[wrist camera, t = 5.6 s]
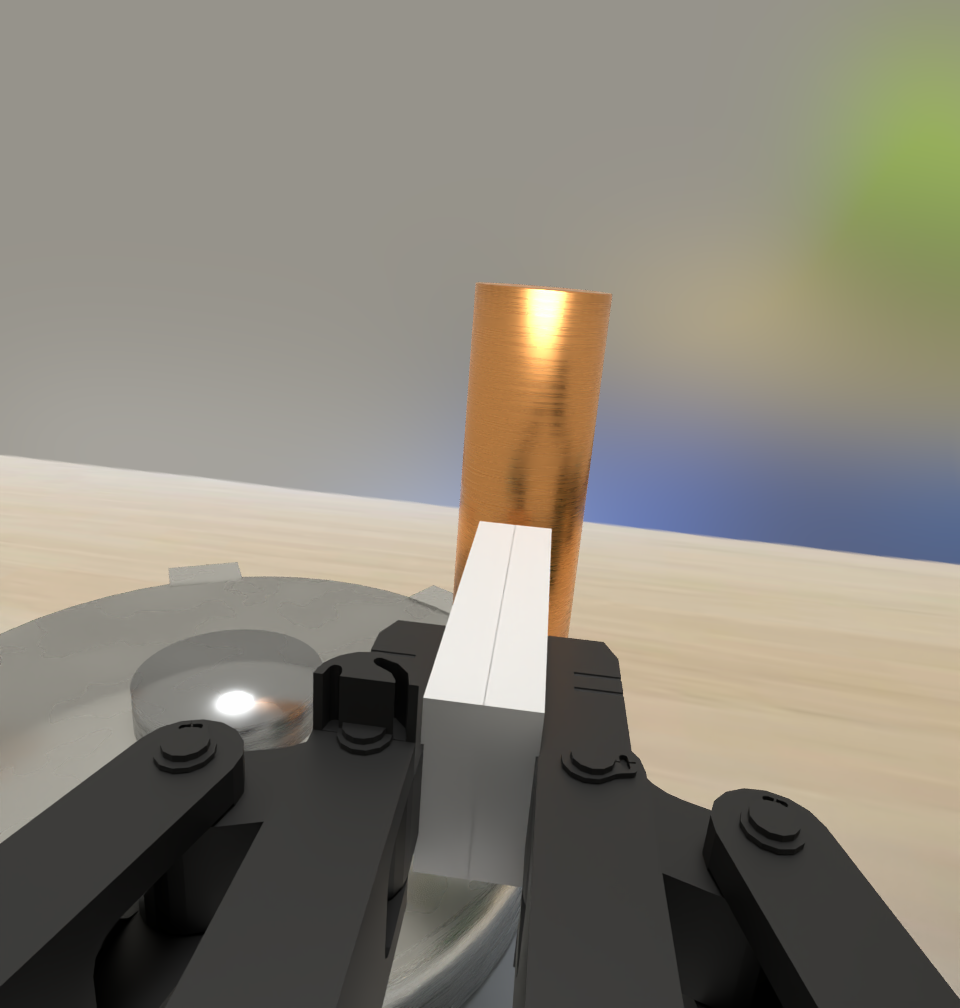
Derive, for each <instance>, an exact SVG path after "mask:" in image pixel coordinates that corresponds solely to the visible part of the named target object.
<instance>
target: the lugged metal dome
mask: <svg viewBox="0 0 960 1008" xmlns="http://www.w3.org/2000/svg"><path fill="white" fill-rule="evenodd" d="M611 300H612V294H610V293H604V292H596V291H587V290H578V289H568V288H557V287H556V288H555V287H544V286H533V285H518V284H504V283H483V282H481V283H479V282H478V283H476V287H475V301H474V315H473V329H472V342H471V356H470V370H469V384H468V398H467V412H466V425H465V440H464V453H463V467H462V482H461V495H460V508H459V522H458V536H457V550H456V564H455V578H454V592H453V593H451V592H449V591H446V590H444V589H441V588H439V587H436V586H434V585H433V586H431V587H429V588H427V589H425V590H423V591H421V592H418V593H416V594H414V595H412V596H410V597H407V596H403V595H400V594H396V593H393V592H389V591H386V590H381V589H377V588H372V587H367V586H363V585H358V584H351V583H344V582H338V581H331V580H321V579H310V578H296V577H242V576H241V572H240V569H239V566H238V562H235V563H223V564H212V565H201V566H189V567H178V568H169V583H170V584H168V585H162V586H156V587H150V588H145V589H139V590H135V591H130V592H126V593H122V594H117V595H113V596H108V597H104V598H101V599H97V600H94V601H90V602H87V603H83V604H80V605H76V606H73V607H70V608H67V609H64V610H61V611H58V612H55V613H52V614H49V615H46V616H44V617H41V618H38V619H35V620H33V621H30V622H28V623H25V624H23V625H21V626H18V627H16V628H13V629H11V630H9V631H6V632H4V633H1V634H0V843H2V842H3V841H4V840H6V839H7V838H8V837H10V836H11V835H12V834H14V833H15V832H16V831H18V830H19V829H20V828H22V827H23V826H24V825H26V824H27V823H28V822H30V821H31V820H32V819H34V818H35V817H36V816H38V815H39V814H40V813H42V812H43V811H44V810H46V809H47V808H48V807H50V806H51V805H52V804H54V803H55V802H56V801H58V800H59V799H60V798H62V797H63V796H64V795H66V794H67V793H68V792H70V791H71V790H72V789H74V788H75V787H76V786H78V785H79V784H80V783H82V782H83V781H84V780H86V779H87V778H88V777H90V776H91V775H92V774H94V773H95V772H96V771H98V770H99V769H100V768H102V767H103V766H104V765H106V764H107V763H108V762H110V761H111V760H112V759H114V758H115V757H116V756H118V755H119V754H120V753H122V752H123V751H124V750H126V749H127V748H128V747H130V746H131V745H132V744H134V743H135V742H136V741H138V740H139V739H140V738H142V737H144V736H145V735H147V734H149V733H151V732H153V731H154V730H156V729H158V728H160V727H163V726H166V725H170V724H173V723H176V722H180V721H188V720H200V719H205V720H211V721H217V722H223V723H225V724H227V725H228V726H230V727H232V728H234V729H236V730H237V731H238V733H239V734H240V736H241V737H242V739H243V740H244V751H254V750H266V749H277V748H283V747H289V746H294V745H297V744H300V743H303V742H307V740H308V738H309V736H310V734H311V732H312V730H313V672H314V671H315V670H316V669H317V668H318V667H319V666H320V665H321V664H322V663H323V662H326V661H328V660H330V659H332V658H335V657H337V656H339V655H344V654H349V653H354V652H371V648H372V646H373V644H374V642H375V640H376V638H377V636H378V634H379V633H380V632H381V631H383V630H384V629H386V628H387V627H389V626H390V625H391V624H393V623H394V622H396V621H397V620H403V621H411V622H420V623H428V624H436V625H445V626H446V625H447V622H448V619H449V616H450V612H451V609H452V606H453V603H454V600H455V597H456V594H457V591H458V587H459V584H460V581H461V578H462V575H463V572H464V569H465V566H466V563H467V559H468V556H469V553H470V550H471V547H472V544H473V541H474V538H475V534H476V531H477V528H478V525H479V522H480V521H483V522H493V523H502V524H511V525H520V526H530V527H539V528H548V529H552V533H551V559H550V585H549V611H548V636H556V637H564V638H568V632H569V624H570V617H571V609H572V601H573V594H574V586H575V578H576V570H577V563H578V555H579V547H580V540H581V532H582V524H583V516H584V508H585V501H586V493H587V484H588V478H589V470H590V462H591V455H592V447H593V439H594V431H595V423H596V415H597V408H598V400H599V393H600V385H601V378H602V370H603V361H604V354H605V346H606V339H607V331H608V324H609V316H610V308H611ZM413 862H414V854H413V858H412V862H411V866H410V870H409V874H408V887H407V905H406V909H405V914H404V918H403V922H402V926H401V930H400V935H399V939H398V943H397V947H396V951H395V955H394V960H393V964H392V968H391V972H390V976H389V981H388V985H387V989H386V993H385V997H384V1001H383V1006H382V1008H459V1007H460V1006H461V1005H462V1004H463V1003H464V1002H465V1001H466V1000H467V999H468V998H469V997H470V995H471V994H472V993H473V992H474V991H475V990H476V989H477V988H478V987H479V986H480V985H481V984H482V983H483V981H484V980H485V978H486V977H487V975H488V974H489V973H490V971H491V970H492V968H493V967H494V965H495V964H496V963H497V961H498V960H499V958H500V957H501V955H502V954H503V953H504V951H505V950H506V948H507V947H508V945H509V943H510V941H511V939H512V937H513V935H514V933H515V931H516V929H517V927H518V921H519V912H520V904H521V896H522V887H515V886H508V885H501V884H494V883H488V882H481V881H474V880H467V879H460V878H453V877H446V876H440V875H433V874H426V873H419V872H413Z"/></svg>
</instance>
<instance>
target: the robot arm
mask: <svg viewBox="0 0 960 1008" xmlns="http://www.w3.org/2000/svg"><path fill="white" fill-rule="evenodd" d="M551 533H552V529H548V528H539V527H530V526H520V525H511V524H502V523H493V522H483V521H480V522H479V525H478V528H477V531H476V534H475V538H474V541H473V544H472V547H471V550H470V553H469V556H468V559H467V563H466V566H465V569H464V572H463V575H462V578H461V581H460V584H459V587H458V591H457V594H456V597H455V600H454V603H453V606H452V609H451V612H450V616H449V619H448V622H447V625H446V626H445V625H436V624H428V623H420V622H411V621H403V620H397V621H396V622H394V623H393V624H391V625H390V626H389V627H387V628H386V629H384V630H383V631H381V632H380V633H379V634H378V636H377V638H376V640H375V642H374V644H373V646H372V648H371V652H354V653H349V654H344V655H339V656H337V657H335V658H332V659H330V660H328V661H326V662H323V663H322V664H321V665H320V666H319V667H318V668H317V669H316V670H315V671H314V672H313V730H312V732H311V734H310V736H309V738H308V740H307V742H303V743H300V744H297V745H294V746H289V747H283V748H277V749H266V750H254V751H244V740H243V739H242V737H241V736H240V734H239V733H238V731H237V730H236V729H234V728H232V727H230V726H228V725H227V724H225V723H223V722H217V721H211V720H205V719H200V720H188V721H180V722H176V723H173V724H170V725H166V726H163V727H160V728H158V729H156V730H154V731H153V732H151V733H149V734H147V735H145V736H144V737H142V738H140V739H139V740H138V741H136V742H135V743H134V744H132V745H131V746H130V747H128V748H127V749H126V750H124V751H123V752H122V753H120V754H119V755H118V756H116V757H115V758H114V759H112V760H111V761H110V762H108V763H107V764H106V765H104V766H103V767H102V768H100V769H99V770H98V771H96V772H95V773H94V774H92V775H91V776H90V777H88V778H87V779H86V780H84V781H83V782H82V783H80V784H79V785H78V786H76V787H75V788H74V789H72V790H71V791H70V792H68V793H67V794H66V795H64V796H63V797H62V798H60V799H59V800H58V801H56V802H55V803H54V804H52V805H51V806H50V807H48V808H47V809H46V810H44V811H43V812H42V813H40V814H39V815H38V816H36V817H35V818H34V819H32V820H31V821H30V822H28V823H27V824H26V825H24V826H23V827H22V828H20V829H19V830H18V831H16V832H15V833H14V834H12V835H11V836H10V837H8V838H7V839H6V840H4V841H3V842H2V843H0V1008H382V1006H383V1001H384V997H385V993H386V989H387V985H388V981H389V976H390V972H391V968H392V964H393V960H394V955H395V951H396V947H397V943H398V939H399V935H400V930H401V926H402V922H403V918H404V914H405V909H406V905H407V887H408V874H409V870H410V866H411V862H412V858H413V854H414V862H413V872H419V873H426V874H433V875H440V876H446V877H453V878H460V879H467V880H474V881H481V882H488V883H494V884H501V885H508V886H515V887H522V896H521V904H520V912H519V921H518V929H517V937H516V946H515V954H514V962H513V967H515V978H514V992H513V1007H512V1008H960V999H959V998H958V996H957V995H956V994H955V993H954V991H953V990H952V989H951V987H950V986H949V985H948V984H947V982H946V981H945V980H944V978H943V977H942V976H941V975H940V973H939V972H938V971H937V969H936V968H935V967H934V965H933V964H932V963H931V962H930V960H929V959H928V958H927V956H926V955H925V954H924V953H923V951H922V950H921V949H920V947H919V946H918V945H917V944H916V942H915V941H914V940H913V938H912V937H911V936H910V935H909V933H908V932H907V931H906V929H905V928H904V927H903V926H902V924H901V923H900V922H899V920H898V919H897V918H896V917H895V915H894V914H893V913H892V911H891V910H890V909H889V908H888V906H887V905H886V904H885V902H884V901H883V900H882V899H881V897H880V896H879V895H878V893H877V892H876V891H875V889H874V888H873V887H872V886H871V884H870V883H869V882H868V880H867V879H866V878H865V877H864V875H863V874H862V873H861V871H860V870H859V869H858V868H857V866H856V865H855V864H854V862H853V861H852V860H851V859H850V857H849V856H848V855H847V853H846V852H845V851H844V850H843V848H842V847H841V846H840V844H839V843H838V842H837V841H836V839H835V838H834V837H833V835H832V834H831V833H830V832H829V830H828V829H827V828H826V827H825V826H824V825H823V824H822V823H821V822H820V821H819V820H818V819H817V818H816V817H815V816H814V815H813V814H812V813H811V812H810V811H808V810H807V809H805V808H803V807H802V806H800V805H798V804H797V803H795V802H793V801H792V800H790V799H788V798H785V797H782V796H780V795H777V794H774V793H771V792H768V791H764V790H754V789H745V788H743V789H738V790H733V791H728V792H725V793H724V794H723V795H721V796H720V797H719V798H717V799H716V800H715V801H714V804H713V807H712V811H711V810H708V809H706V808H703V807H700V806H697V805H695V804H692V803H689V802H686V801H684V800H681V799H679V798H677V797H675V796H672V795H670V794H668V793H666V792H665V791H663V790H662V789H660V788H658V787H657V786H655V785H654V784H653V783H651V782H650V781H649V780H648V779H647V776H646V772H645V770H644V767H643V765H642V763H641V761H640V759H639V758H638V757H637V756H636V755H635V754H634V753H633V752H632V751H631V745H630V738H629V731H628V724H627V717H626V710H625V703H624V697H623V689H622V682H621V675H620V668H619V661H618V659H617V657H616V656H615V655H614V654H613V653H612V651H611V650H610V649H609V648H608V647H607V646H606V644H605V643H604V642H598V641H589V640H581V639H572V638H564V637H556V636H548V611H549V585H550V559H551Z"/></svg>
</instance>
